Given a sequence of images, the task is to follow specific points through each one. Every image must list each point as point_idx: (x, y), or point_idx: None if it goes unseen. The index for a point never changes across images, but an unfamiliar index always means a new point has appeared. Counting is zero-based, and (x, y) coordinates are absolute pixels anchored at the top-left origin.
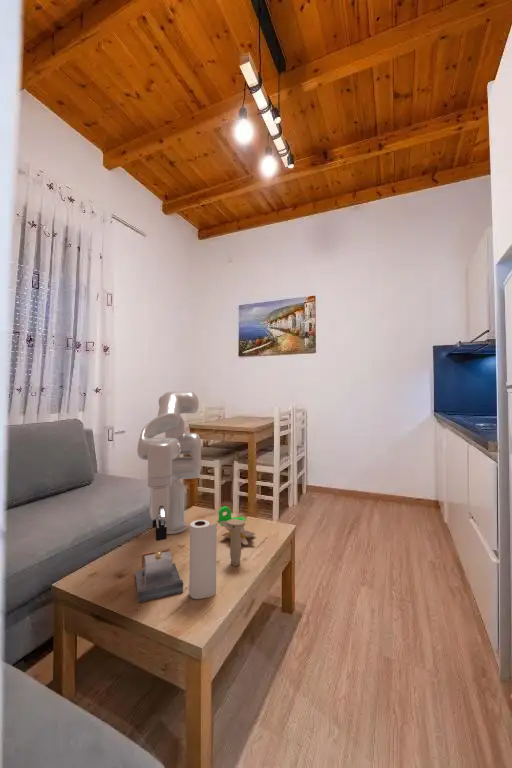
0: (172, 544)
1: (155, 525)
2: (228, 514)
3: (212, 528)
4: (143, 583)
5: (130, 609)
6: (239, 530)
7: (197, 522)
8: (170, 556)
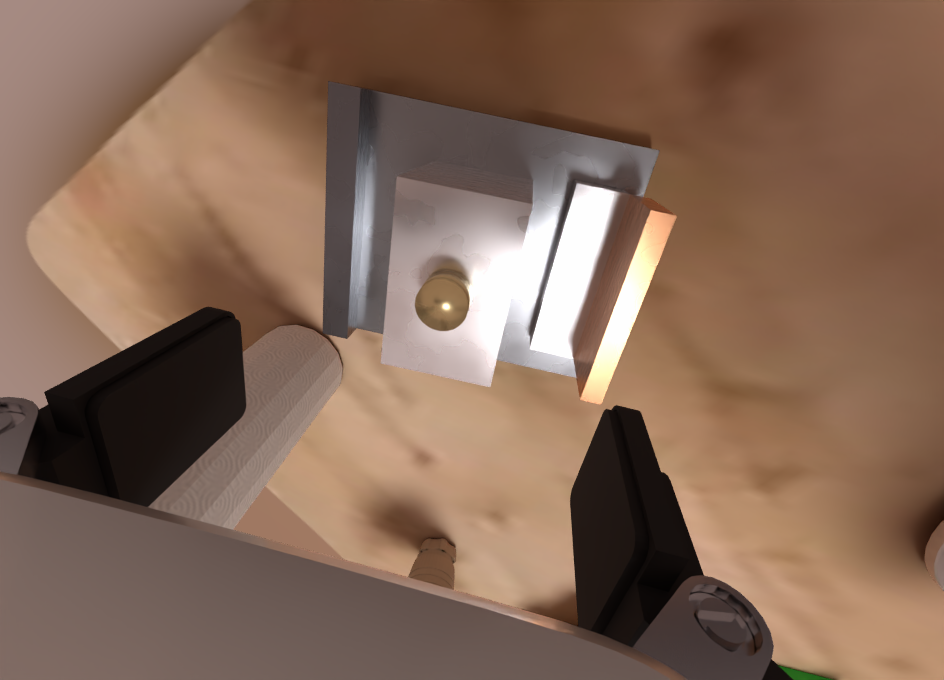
0: (841, 454)
1: (598, 449)
2: None
3: None
4: (472, 156)
5: (311, 26)
6: None
7: None
8: (408, 361)
